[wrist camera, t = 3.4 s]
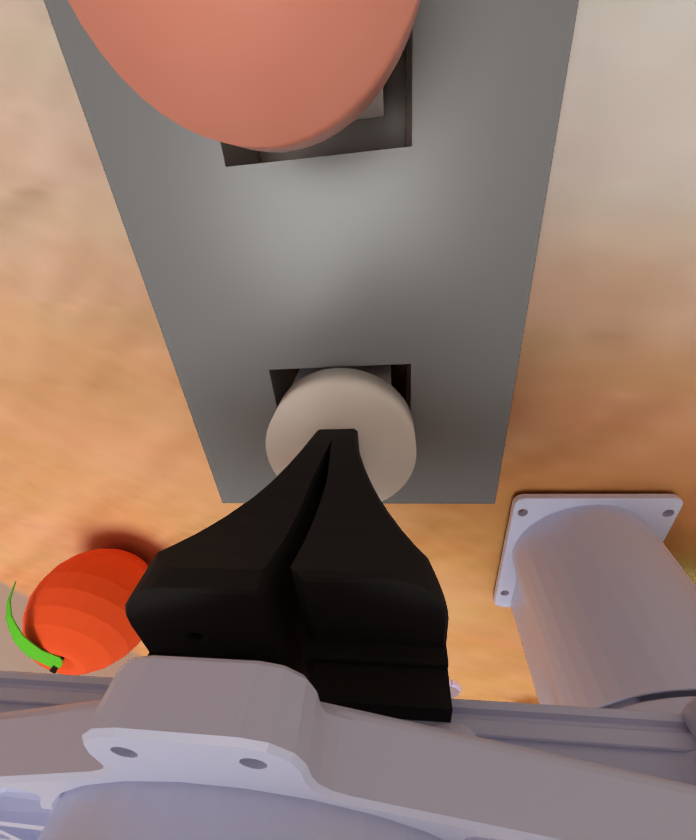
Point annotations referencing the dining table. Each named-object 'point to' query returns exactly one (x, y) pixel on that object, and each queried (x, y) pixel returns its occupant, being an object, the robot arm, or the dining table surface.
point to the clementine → (81, 613)
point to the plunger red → (254, 62)
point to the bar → (351, 243)
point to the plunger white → (348, 421)
